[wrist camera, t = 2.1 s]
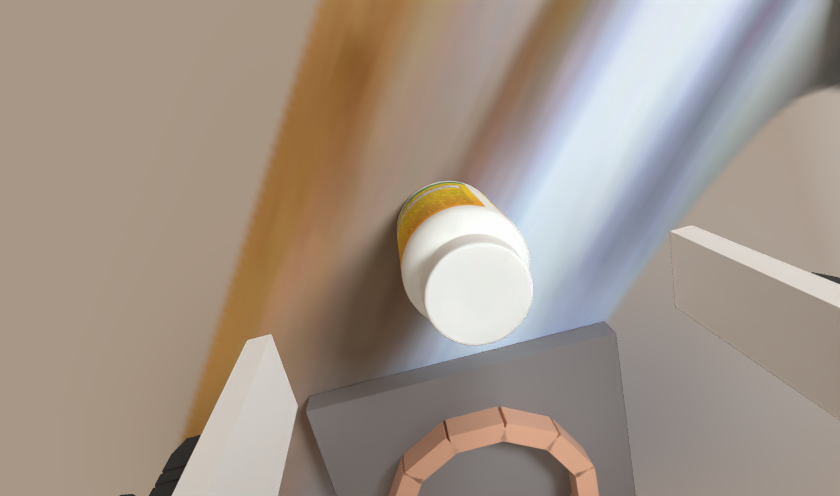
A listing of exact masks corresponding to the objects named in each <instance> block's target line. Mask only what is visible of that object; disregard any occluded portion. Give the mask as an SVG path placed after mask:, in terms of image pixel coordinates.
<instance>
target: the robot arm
mask: <svg viewBox="0 0 840 496" xmlns="http://www.w3.org/2000/svg"><path fill="white" fill-rule="evenodd" d="M670 243H671V258H672V271H673V285H674V298H675V307H676V308H678V309H679V310H681V311H682V312H683V313H685V314H686V315H688V316H689V317H691V318H692V319H694V320H695V321H696V322H698V323H699V324H701V325H702V326H704V327H705V328H707V329H708V330H710V331H711V332H712V333H714V334H715V335H717V336H718V337H720V338H721V339H723V340H724V341H726V342H727V343H728V344H730V345H731V346H733V347H734V348H736V349H737V350H739V351H740V352H741V353H743V354H744V355H746V356H748V357H749V358H750V359H752V360H753V361H754V362H756V363H758V364H759V365H760V366H762V367H763V368H765V369H766V370H768V371H769V372H770V373H772V374H774V375H775V376H776V377H778V378H779V379H781V380H782V381H784V382H785V383H787V384H788V385H789V386H791V387H792V388H794V389H795V390H797V391H798V392H800V393H801V394H802V395H804V396H805V397H807V398H808V399H810V400H811V401H813V402H814V403H815V404H817V405H818V406H820V407H822V408H823V409H824V410H826V411H827V412H828V413H830V414H831V415H833V416H834V417H836V418H837V419H839V420H840V278H838V277H833V276H828V275H823V274H818V273H813V272H812V273H810V272H807V271H805V270H803V269H800V268H798V267H795V266H793V265H790V264H788V263H785V262H783V261H780V260H778V259H775V258H772V257H770V256H768V255H765V254H763V253H760V252H758V251H755V250H753V249H750V248H748V247H746V246H743V245H740V244H738V243H735V242H733V241H730V240H728V239H726V238H723V237H720V236H718V235H716V234H713V233H711V232H708V231H706V230H703V229H701V228H698V227H696V226H693V225H691V226H687V227H683V228H679V229H675V230H671V231H670ZM297 408H298V405H297V403H296V400H295V397H294V394H293V392H292V389H291V386H290V384H289V381H288V378H287V376H286V373H285V370H284V367H283V365H282V362H281V359H280V357H279V354H278V351H277V349H276V346H275V343H274V341H273V338H272V335H271V334H269V335H265V336H262V337H258V338H254V339H250V340H247V342H246V344H245V346H244V348H243V350H242V352H241V354H240V356H239V358H238V360H237V362H236V364H235V366H234V369H233V371H232V373H231V375H230V377H229V379H228V381H227V383H226V385H225V387H224V389H223V391H222V393H221V395H220V397H219V399H218V401H217V403H216V406H215V408H214V410H213V412H212V414H211V416H210V418H209V420H208V422H207V424H206V426H205V428H204V430H203V432H202V434H201V435H198V436H194V437H191V438H187V439H186V440H185V441H184V442H183V443H182V444H181V445H180V446H179V447H178V448H177V449H176V450H175V451H174V452H173V453H172V454H171V456H170V458H169V460H168V462H167V463H166V465H165V467H164V469H163V471H162V472H163V474H161V475H160V476H159V478H158V480H157V482H156V484H155V488H153V489H152V491H151V493H150V495H149V496H278V493H279V489H280V484H281V480H282V475H283V471H284V466H285V462H286V457H287V453H288V448H289V444H290V439H291V435H292V430H293V426H294V421H295V417H296V412H297ZM120 496H135V495H133V494H129V495H120Z"/></svg>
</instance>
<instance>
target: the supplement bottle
mask: <svg viewBox="0 0 840 496" xmlns="http://www.w3.org/2000/svg"><path fill="white" fill-rule="evenodd" d="M397 241H398V249H399V256H400V266H401V273H402V280H403V285H404V288H405V291H406V293H407V295H408V297H409V299H410V301H411V302H412V304H413V305H414V306H415V308H416V309H417V310H418V311H419V312H420V313H421V314H422V315H423V316H425V317H426V318H428V319H429V320H430V322H431V323H432V325H433V326H434V327H435V328H436V329H437V330H438V331H439V332H440V333H441V334H442V335H443V336H445V337H446V338H448V339H450V340H452V341H454V342H457V343H460V344H464V345H474V346H476V345H485V344H490V343H494V342H496V341H499V340H501V339H503V338H505V337H506V336H508V335H509V334H511V333H512V332H513V331H514V330H515V329H516V328H517V327H518V326H519V325H520V324H521V323H522V321H523V320H524V319H525V317H526V315H527V314H528V311H529V309H530V306H531V303H532V298H533V283H532V278H531V275H530V257H529V251H528V248H527V245H526V242H525V240H524V238H523V236H522V234H521V233H520V231H519V230H518V229H517V227H516V226H515V225H514V224H513V223H512V222H511V221H510V220H509V219H508V218H507V217H506V216H505V215H504V214H503V213H502V212H501V211H500V210H499V209H497V208H496V207H495V206H494V205H493V204H492V203H491V202H490V201H489V200H488V199H487V198H486V197H485V196H484V195H483V194H482V193H481V192H480V191H478V190H477V189H475V188H473V187H472V186H470V185H467V184H465V183H461V182H456V181H442V182H437V183H433V184H430V185H428V186H425V187H423V188H421V189H420V190H418V191H417V192H416V193H414V194H413V195H412V196H411V197H410V198H409V199H408V201H407V202H406V203H405V205H404V206H403V208H402V210H401V212H400V215H399V218H398V222H397Z"/></svg>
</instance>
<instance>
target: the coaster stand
mask: <svg viewBox="0 0 840 496" xmlns="http://www.w3.org/2000/svg"><path fill="white" fill-rule="evenodd" d="M306 414H307V416H308V419H309V422H310V425H311V427H312V430H313V433H314V436H315V438H316V441H317V444H318V447H319V449H320V452H321V455H322V457H323V460H324V463H325V466H326V468H327V471H328V474H329V477H330V479H331V482H332V485H333V488H334V490H335V493H336V496H636V495H635V487H634V478H633V470H632V462H631V454H630V445H629V437H628V428H627V420H626V413H625V404H624V395H623V387H622V379H621V371H620V362H619V354H618V346H617V337H616V333H615V332H614V331H613V330H612V329H611V328H610V327H609V326H608V325H607V324H606V323H605V322H600V323H596V324H592V325H588V326H584V327H580V328H576V329H572V330H568V331H564V332H560V333H556V334H552V335H549V336H545V337H541V338H537V339H533V340H529V341H525V342H521V343H517V344H513V345H509V346H505V347H501V348H497V349H493V350H489V351H485V352H482V353H478V354H474V355H470V356H466V357H462V358H458V359H454V360H450V361H446V362H442V363H438V364H434V365H430V366H426V367H422V368H419V369H415V370H411V371H407V372H403V373H399V374H395V375H391V376H387V377H383V378H379V379H375V380H371V381H367V382H363V383H359V384H355V385H352V386H348V387H344V388H340V389H336V390H332V391H328V392H324V393H320V394H316V395H312V396H309V400H308V404H307V409H306Z"/></svg>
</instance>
